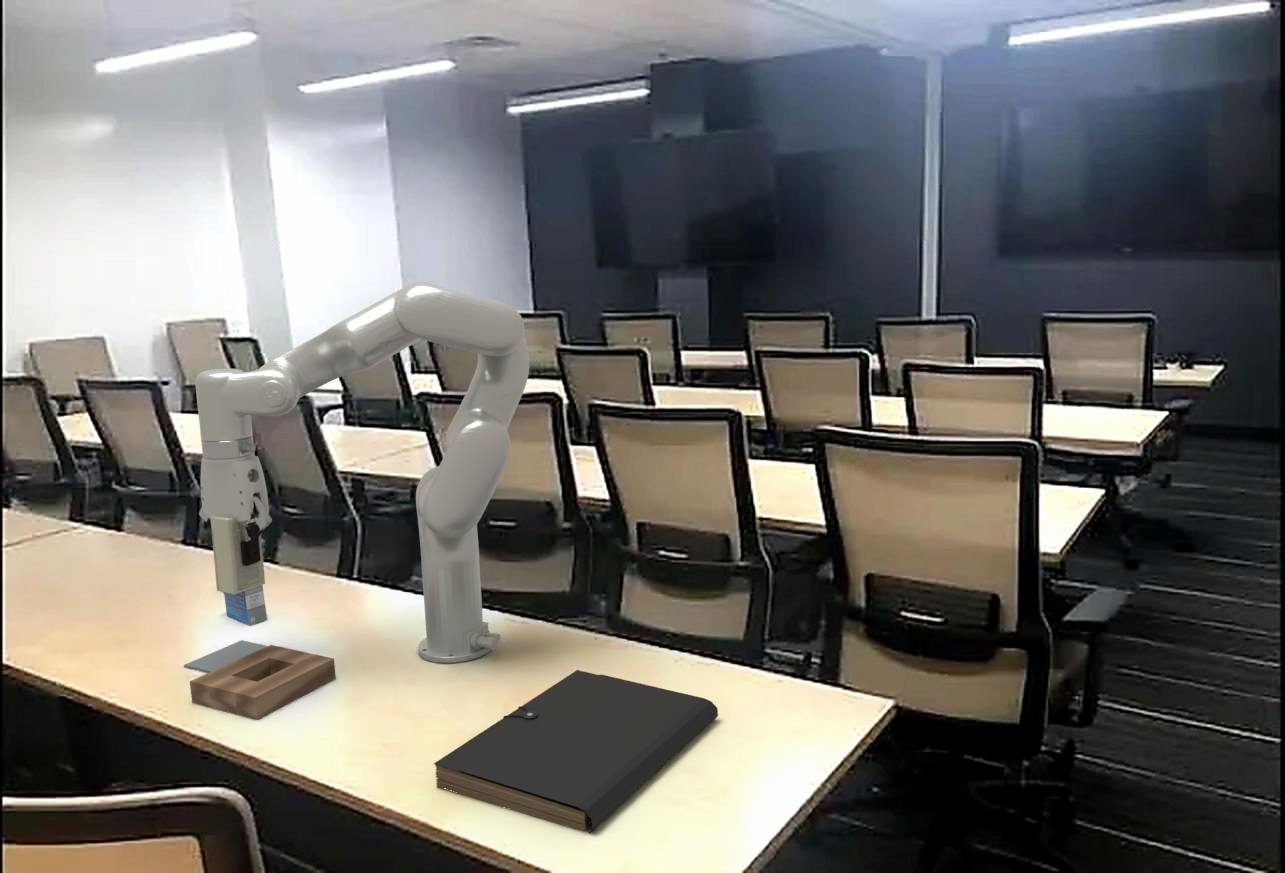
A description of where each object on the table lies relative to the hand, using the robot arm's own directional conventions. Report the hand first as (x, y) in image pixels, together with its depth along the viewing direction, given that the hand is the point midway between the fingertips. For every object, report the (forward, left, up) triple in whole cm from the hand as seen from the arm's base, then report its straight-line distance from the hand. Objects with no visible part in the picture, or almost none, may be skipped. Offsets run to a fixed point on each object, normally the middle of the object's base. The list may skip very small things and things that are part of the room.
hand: (239, 560), depth 168 cm
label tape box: (+22, -19, -20) cm, 35 cm away
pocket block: (-7, +3, -19) cm, 21 cm away
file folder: (-63, -1, -20) cm, 66 cm away
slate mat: (+7, -4, -19) cm, 21 cm away
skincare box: (0, 0, -5) cm, 5 cm away
